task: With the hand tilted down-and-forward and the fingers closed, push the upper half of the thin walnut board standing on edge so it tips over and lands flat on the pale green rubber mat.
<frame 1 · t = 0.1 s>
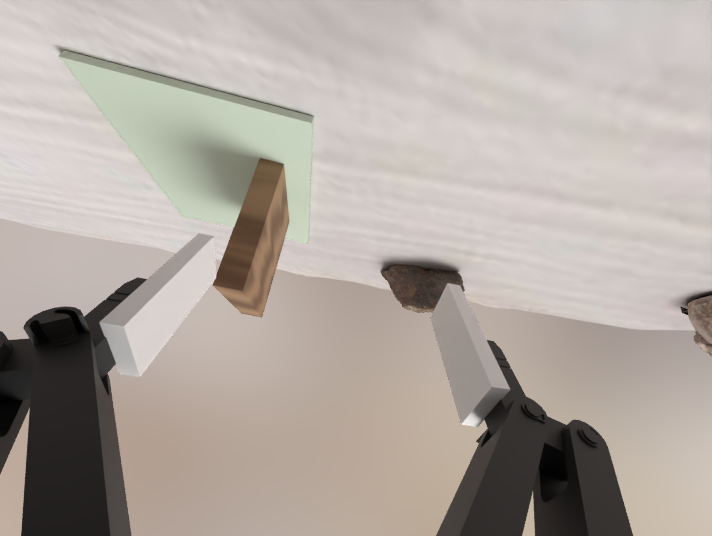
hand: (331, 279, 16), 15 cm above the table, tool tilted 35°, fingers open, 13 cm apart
board: (277, 195, 35), point 1 cm above the table, touching mat
rock: (419, 271, 52), on the table
mat: (229, 178, 34), on the table
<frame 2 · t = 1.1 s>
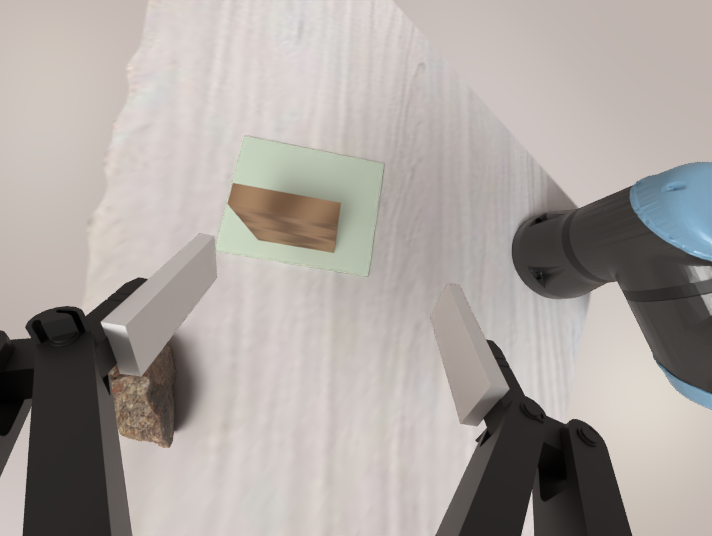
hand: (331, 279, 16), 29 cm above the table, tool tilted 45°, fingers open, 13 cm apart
board: (297, 239, 45), point 1 cm above the table, touching mat
rock: (154, 386, 40), on the table
mat: (305, 206, 47), on the table
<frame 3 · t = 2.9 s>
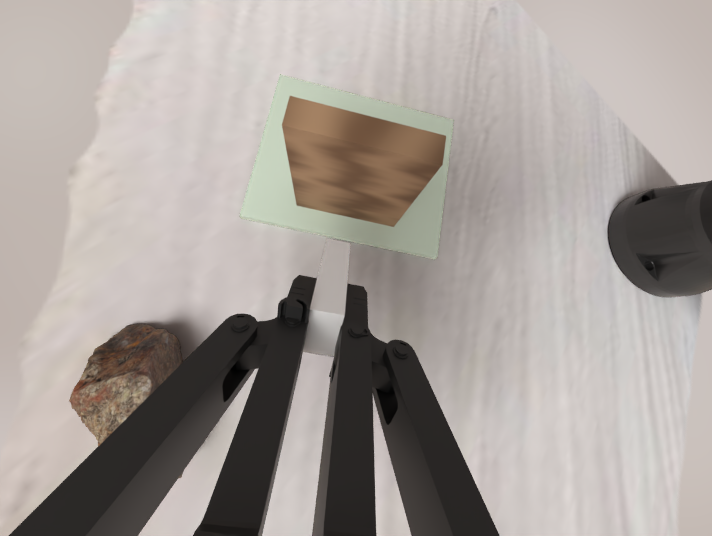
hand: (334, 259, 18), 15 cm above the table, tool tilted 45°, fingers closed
board: (347, 207, 34), point 1 cm above the table, touching mat
rock: (155, 391, 29), on the table
mat: (355, 167, 36), on the table
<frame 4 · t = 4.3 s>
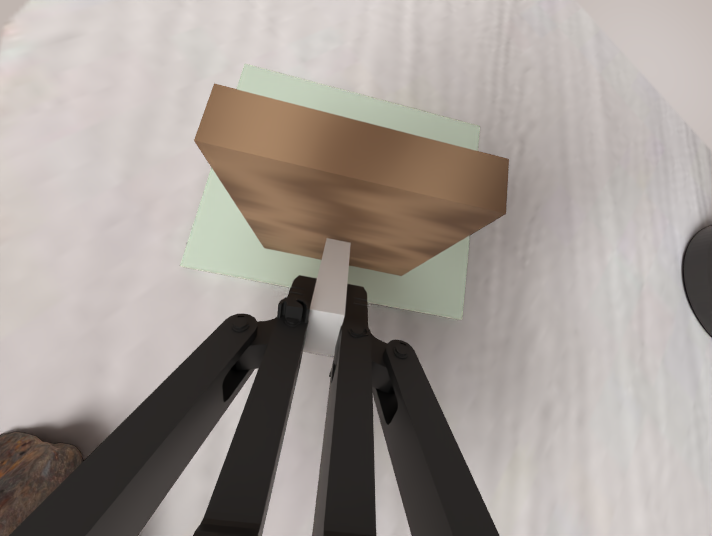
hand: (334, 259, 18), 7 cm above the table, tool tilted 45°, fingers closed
board: (337, 248, 24), point 1 cm above the table, touching gripper, mat
rock: (43, 534, 19), on the table
mat: (348, 190, 26), on the table
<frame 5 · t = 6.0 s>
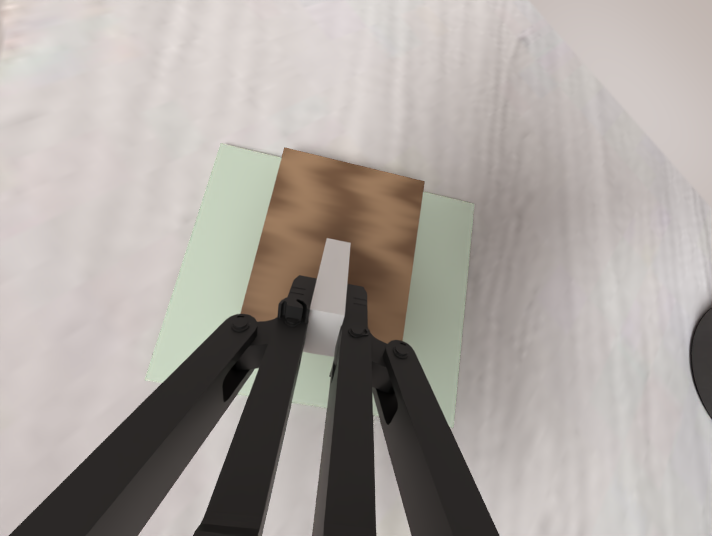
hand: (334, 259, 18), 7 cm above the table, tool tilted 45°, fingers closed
board: (322, 333, 22), point 2 cm above the table, tilted 90°, touching mat
mat: (331, 281, 25), on the table
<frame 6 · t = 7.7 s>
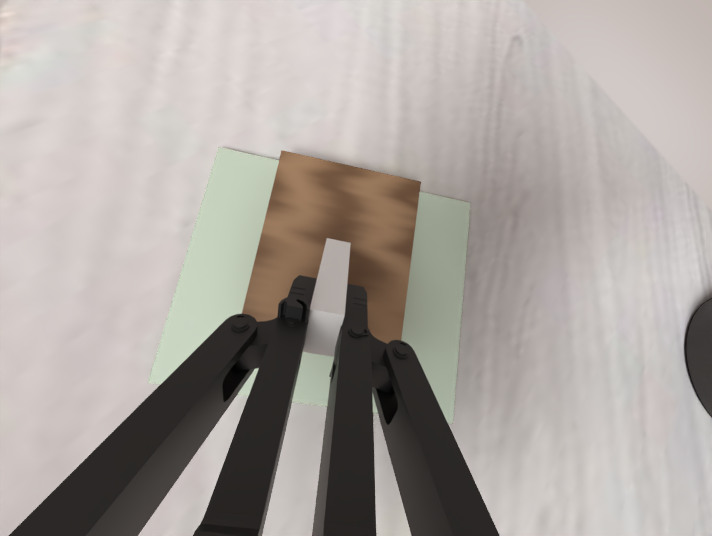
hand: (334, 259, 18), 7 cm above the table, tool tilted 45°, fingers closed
board: (322, 334, 22), point 2 cm above the table, tilted 90°, touching mat
mat: (331, 281, 25), on the table
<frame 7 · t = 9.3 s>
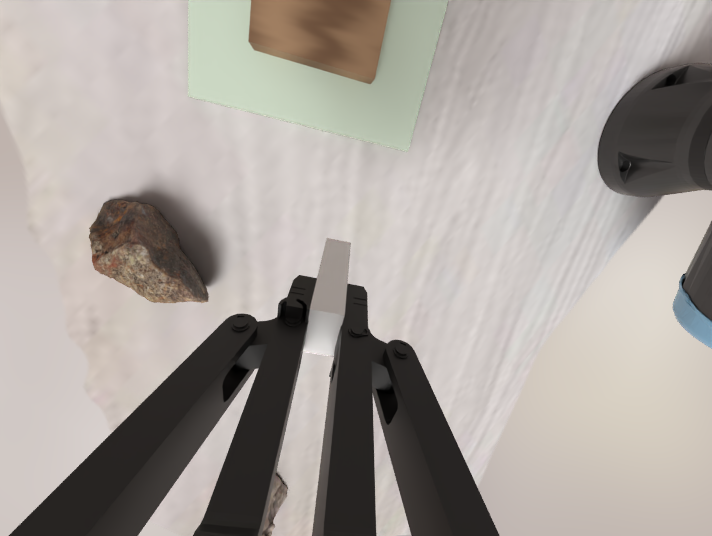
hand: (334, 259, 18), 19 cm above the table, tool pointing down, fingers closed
board: (314, 64, 28), point 2 cm above the table, tilted 90°, touching mat
rock: (160, 250, 35), on the table
mat: (322, 17, 28), on the table
rock 2: (256, 489, 55), on the table
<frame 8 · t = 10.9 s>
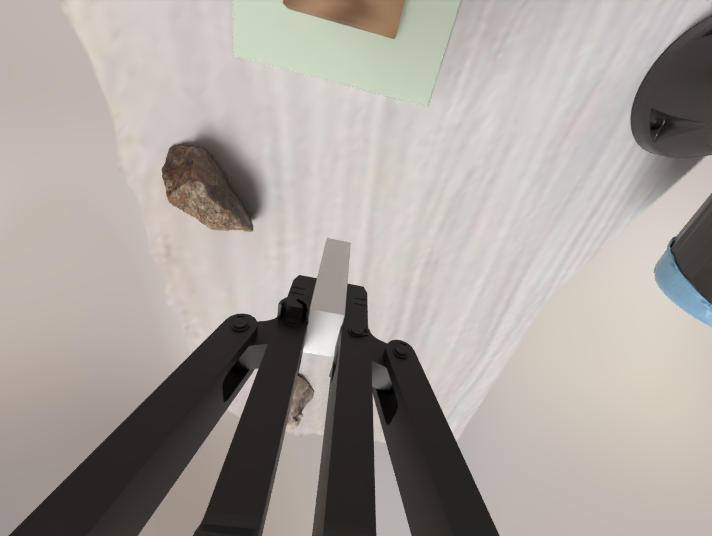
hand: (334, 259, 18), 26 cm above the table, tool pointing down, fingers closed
board: (341, 22, 30), point 2 cm above the table, tilted 90°, touching mat
rock: (214, 188, 43), on the table
rock 2: (290, 389, 70), on the table
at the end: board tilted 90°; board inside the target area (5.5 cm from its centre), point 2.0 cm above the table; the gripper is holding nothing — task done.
